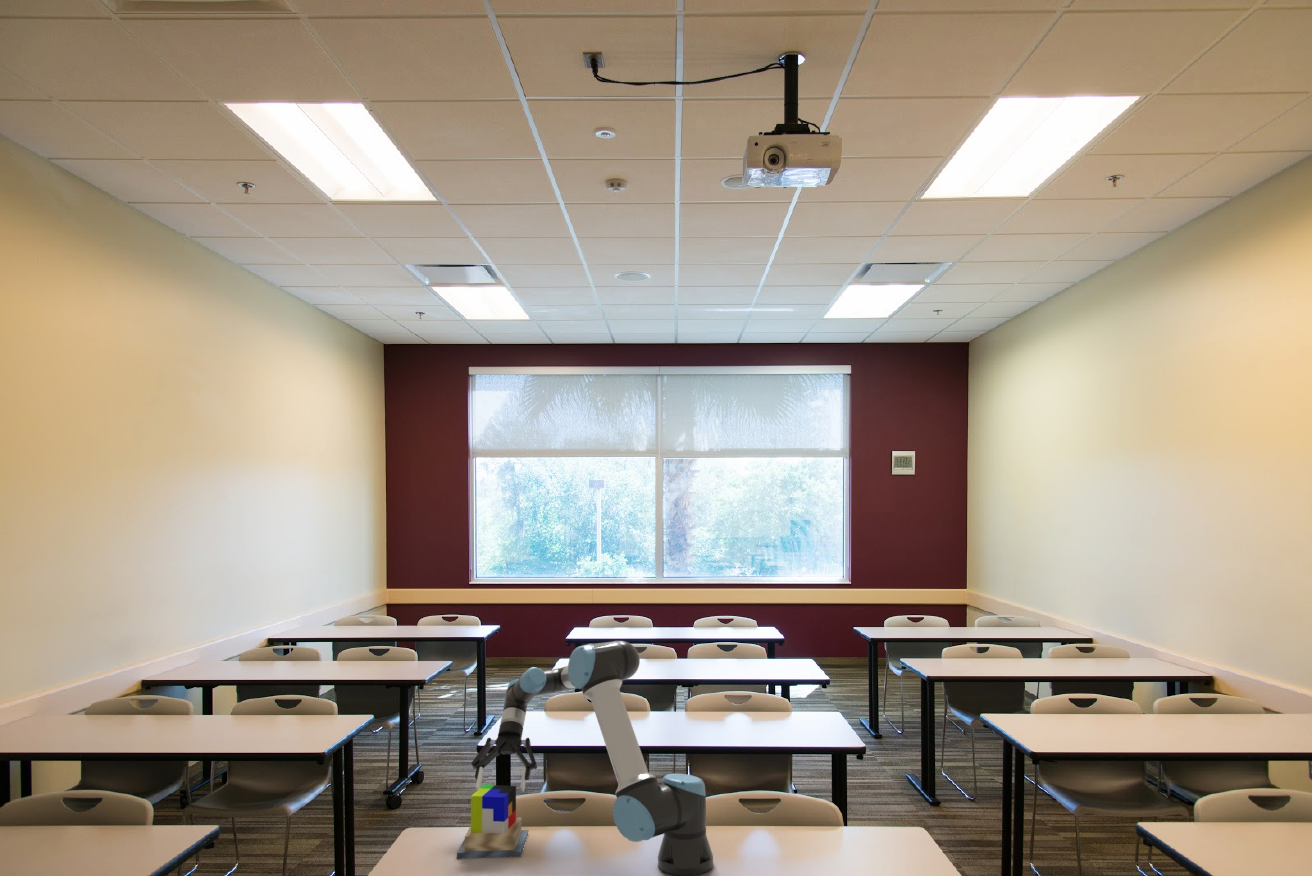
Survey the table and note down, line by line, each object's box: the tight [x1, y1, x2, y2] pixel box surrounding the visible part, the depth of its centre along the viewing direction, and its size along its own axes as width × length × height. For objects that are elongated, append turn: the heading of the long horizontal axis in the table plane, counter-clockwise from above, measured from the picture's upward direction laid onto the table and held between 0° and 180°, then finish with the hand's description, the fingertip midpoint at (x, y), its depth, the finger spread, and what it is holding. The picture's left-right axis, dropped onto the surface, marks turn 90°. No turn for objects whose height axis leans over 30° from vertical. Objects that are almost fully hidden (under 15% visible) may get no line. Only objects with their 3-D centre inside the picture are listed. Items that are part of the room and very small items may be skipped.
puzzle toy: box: [470, 784, 517, 834], centre depth 235 cm, size 10×10×10 cm
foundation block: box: [456, 816, 529, 860], centre depth 234 cm, size 18×16×6 cm
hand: (499, 789), depth 242 cm, fingers open, 13 cm apart
